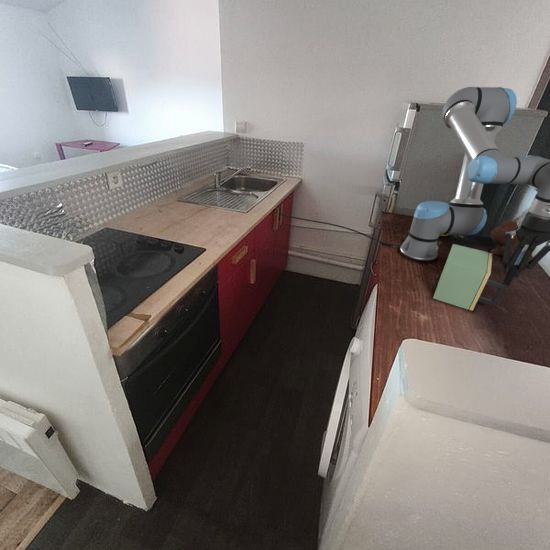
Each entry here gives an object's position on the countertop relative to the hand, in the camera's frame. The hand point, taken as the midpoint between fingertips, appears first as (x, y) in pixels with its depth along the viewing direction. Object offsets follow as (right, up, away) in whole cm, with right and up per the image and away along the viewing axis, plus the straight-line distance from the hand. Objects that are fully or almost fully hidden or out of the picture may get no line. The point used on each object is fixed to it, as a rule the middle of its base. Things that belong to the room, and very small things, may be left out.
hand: (506, 283), depth 96 cm
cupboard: (-11, -4, +10) cm, 16 cm away
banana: (+8, +22, +53) cm, 58 cm away
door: (-4, -6, +6) cm, 10 cm away
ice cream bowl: (+26, +13, +39) cm, 48 cm away
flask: (+25, +6, +27) cm, 37 cm away
